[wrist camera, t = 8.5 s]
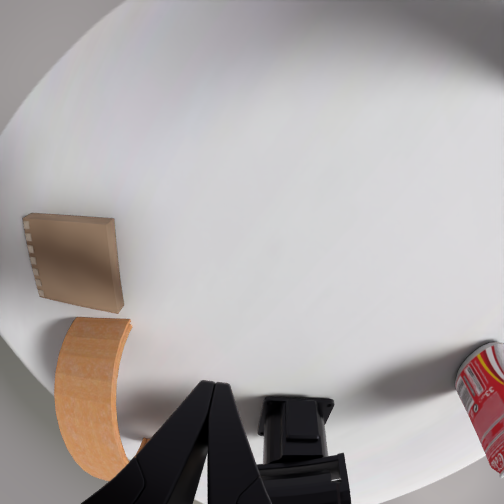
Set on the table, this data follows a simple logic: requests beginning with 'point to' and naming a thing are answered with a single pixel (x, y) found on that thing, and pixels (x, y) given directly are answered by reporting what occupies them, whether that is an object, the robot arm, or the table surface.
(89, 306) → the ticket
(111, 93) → the table surface
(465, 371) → the soda can
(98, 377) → the arch
